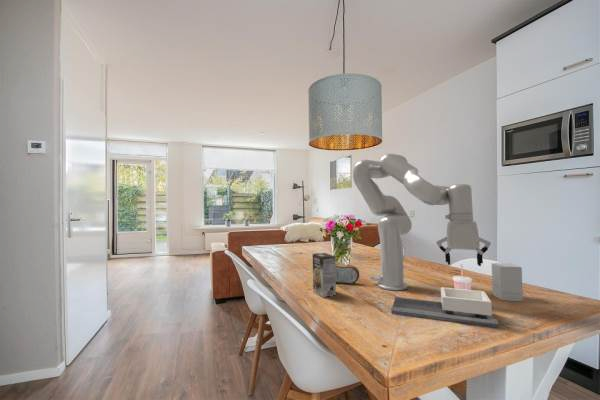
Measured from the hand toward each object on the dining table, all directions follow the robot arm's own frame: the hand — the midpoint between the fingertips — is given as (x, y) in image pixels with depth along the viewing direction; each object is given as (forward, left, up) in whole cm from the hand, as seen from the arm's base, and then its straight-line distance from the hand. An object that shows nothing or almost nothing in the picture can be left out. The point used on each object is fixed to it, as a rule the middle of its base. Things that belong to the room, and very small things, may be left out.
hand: (463, 264), depth 103 cm
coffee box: (-52, -8, -14) cm, 54 cm away
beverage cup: (-1, 0, -14) cm, 14 cm away
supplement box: (+15, +12, -14) cm, 24 cm away
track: (-9, -14, -14) cm, 21 cm away
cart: (-2, -14, -13) cm, 19 cm away
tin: (-49, +10, -14) cm, 52 cm away
